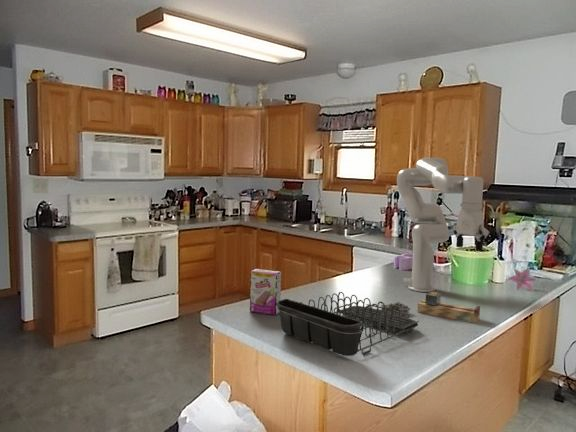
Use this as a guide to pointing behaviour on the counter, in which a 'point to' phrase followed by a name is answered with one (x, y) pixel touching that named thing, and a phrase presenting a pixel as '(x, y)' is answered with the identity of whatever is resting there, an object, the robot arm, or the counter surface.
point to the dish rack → (340, 323)
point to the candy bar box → (265, 291)
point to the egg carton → (402, 308)
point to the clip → (403, 261)
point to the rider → (433, 298)
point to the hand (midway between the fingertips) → (468, 248)
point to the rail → (450, 311)
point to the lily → (523, 279)
